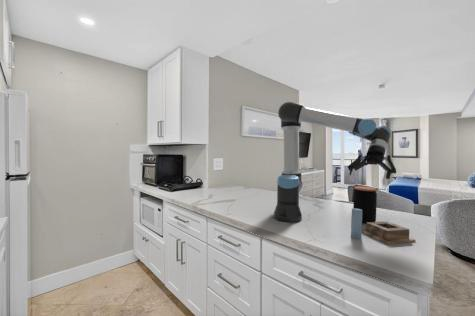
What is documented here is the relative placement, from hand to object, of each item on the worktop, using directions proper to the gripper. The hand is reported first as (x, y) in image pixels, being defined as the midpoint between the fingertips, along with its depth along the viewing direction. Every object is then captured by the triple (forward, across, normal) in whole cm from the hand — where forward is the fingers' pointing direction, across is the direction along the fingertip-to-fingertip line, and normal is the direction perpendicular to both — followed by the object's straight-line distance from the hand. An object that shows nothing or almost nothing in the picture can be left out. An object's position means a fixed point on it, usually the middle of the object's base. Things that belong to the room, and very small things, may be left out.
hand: (366, 182), depth 102 cm
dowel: (+24, 0, -9) cm, 26 cm away
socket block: (+16, -8, -17) cm, 25 cm away
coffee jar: (+4, +6, -29) cm, 30 cm away
